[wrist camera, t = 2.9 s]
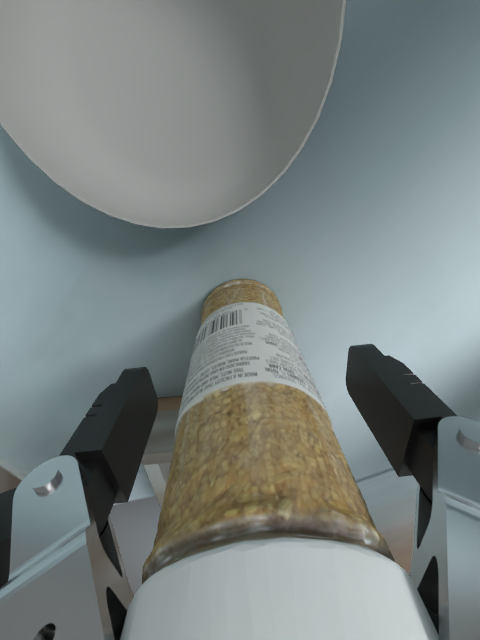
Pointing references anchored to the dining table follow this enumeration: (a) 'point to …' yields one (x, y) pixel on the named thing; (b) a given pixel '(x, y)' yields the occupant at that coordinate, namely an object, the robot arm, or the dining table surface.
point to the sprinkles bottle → (264, 503)
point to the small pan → (166, 98)
